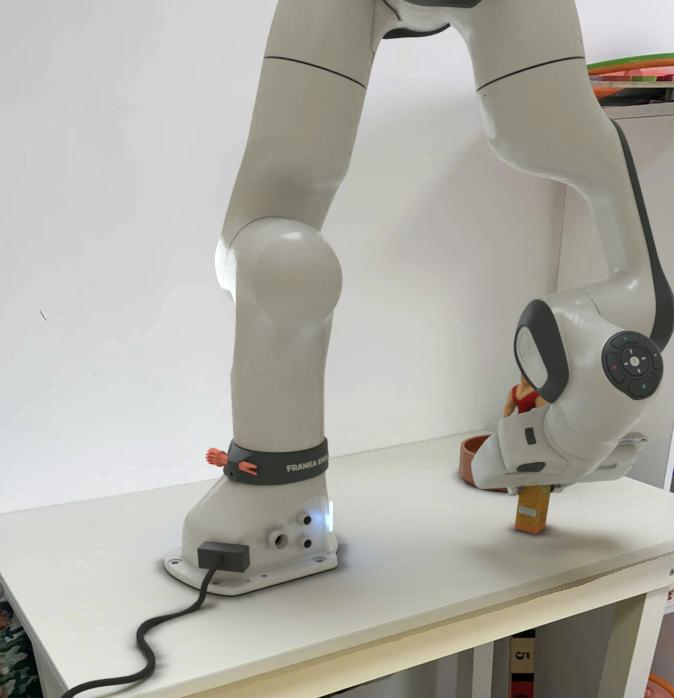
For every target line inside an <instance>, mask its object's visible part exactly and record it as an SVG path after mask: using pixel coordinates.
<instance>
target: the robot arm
mask: <svg viewBox="0 0 674 698" xmlns="http://www.w3.org/2000/svg"><path fill="white" fill-rule="evenodd" d="M270 23H271V24H270V28H269V31H268V36H267V40H266V44H265V47H264V48H265V49H264V53H263V58H262V63H261V68H260V69H261V70H260V74H259V77H258V78H259V79H258V83H257V88H256V94H255V98H254V99H255V100H254V105H253V110H252V114H251V120H250V125H249V131H248V135H247V139H246V140H247V141H246V144H245V147H244V152H243V156H242V159H241V162H240V165H239V168H238V171H237V175H236V178H235V181H234V185H233V187H232V190H231V194H230V198H229V202H228V205H227V209H226V212H225V217H224V220H223V224H222V228H221V231H220V236H219V240H218V243H217V246H216V250H215V257H214V267H215V274H216V277H217V281H218V283H219V285H220V288H221V289H222V291H223V293H224V295H226V296H227V298H228V299H229V300H230V301H231V302H232V303H233V304H234V312H235V313H234V314H235V316H234V318H235V320H234V321H235V324H234V343H233V356H232V364H231V365H232V366H231V369H230V373H229V381H230V400H231V417H232V436H233V437H232V439H231V440H230V443H229V445H228V449H227V452H226V451H224V450H220V449H218V448H217V447H210V448H209V449H207V452H206V453H205V459H206V460H205V461H206V462H207V463H208V464H209V465H211V466H215V467H217V468H222V475H221V476H220V477H219V478H218V480H217V481H216V482H215V483H214V484H213V485H212V486H211V487H210V489H209V490H208V491H207V492H206V493H205V494H204V495H203V496H202V497H201V498H200V499H199V501H198V502H197V503H196V504H195V505H194V506H193V507H192V508H191V509H190V510H189V511H188V512H187V514H186V515H185V517H184V519H183V523H182V532H181V546H180V547H178V548H176V549H174V550H172V551H170V552H168V553H165V555H164V560H163V565H164V568H165V570H167V572H168V573H169V574H170V575H171V576H173V577H174V578H176V579H177V580H179V581H180V582H183V583H185V584H187V585H188V586H191V587H193V588H196V589H199V595H198V598H197V600H196V601H195V602H193V604H192V605H190V606H189V607H188V608H186V609H184V610H181V611H178V612H175V613H169V614H165V615H159V616H153V617H151V618H148V619H146V620H144V621H143V622H142V623H141V624H140V625H139V627H138V628H137V630H136V633H135V636H136V637H135V638H136V641H137V643H138V646H139V647H140V648H141V650H142V651H143V652H144V654H145V656H146V658H147V664H146V665H145V667H144V668H143V669H141V670H140V671H138V672H136V673H133V674H129V675H124V676H117V677H107V678H99V679H95V680H89V681H86V682H82V683H79V684H77V685H75V686H73V687H71V688H69V689H68V690H67V691H65V692H64V693H63V694H62V695H61V696H60V697H59V698H74V697H75V696H76V695H79V694H81V693H83V692H85V691H89V690H92V689H97V688H104V687H111V686H120V685H127V684H131V683H135V682H138V681H141V680H143V679H145V678H146V677H147V676H149V675H150V674H151V673H152V671H153V670H154V668H155V665H156V655H155V652H154V651H153V650H152V648H151V647H150V645H149V644H148V642H147V641H146V639H145V637H144V633H145V632H146V630H147V629H148V628H150V627H152V626H154V625H157V624H161V623H165V622H168V621H171V620H174V619H177V618H180V617H183V616H186V615H189V614H192V613H195V612H196V611H198V609H200V608H201V607H202V606H203V604H204V603H205V601H206V597H207V592H208V593H211V594H216V595H224V596H237V595H241V594H244V593H249V592H252V591H257V590H260V589H263V588H267V587H271V586H275V585H277V584H281V583H285V582H289V581H292V580H295V579H296V580H297V579H300V578H302V577H306V576H310V575H313V574H314V575H315V574H318V573H320V572H324V571H327V570H332V569H334V568H336V567H337V566H338V565H339V564H338V563H339V562H338V557H337V551H338V550H339V542H338V540H337V536H336V533H335V529H334V525H333V501H329V493H328V486H327V485H328V484H327V474H326V473H327V470H328V469H329V458H330V452H329V440H328V438H327V436H325V376H326V365H327V359H328V352H329V347H330V346H329V345H330V341H331V337H332V336H331V335H332V329H333V321H334V315H335V308H336V307H337V305H338V302H339V301H340V297H341V294H342V289H343V270H342V266H341V263H340V260H339V257H338V256H337V254H336V252H335V250H334V249H333V247H332V245H331V244H330V243H329V241H328V240H327V239H326V238H325V236H324V235H323V234H322V233H321V231H322V229H323V226H324V223H325V221H326V218H327V216H328V213H329V211H330V209H331V206H332V204H333V201H334V198H335V196H336V194H337V192H338V190H339V188H340V187H341V184H342V183H343V182H344V180H345V178H346V176H347V174H348V171H349V169H350V164H351V160H352V157H353V151H354V147H355V143H356V140H357V135H358V130H359V126H360V123H361V122H360V121H361V117H362V113H363V109H364V105H365V100H366V97H367V96H366V95H367V91H368V87H369V82H370V78H371V75H372V68H373V64H374V61H375V58H376V55H377V51H378V48H379V46H380V43H381V41H382V40H397V39H409V38H426V37H427V38H428V37H432V36H435V35H437V34H440V33H443V32H445V31H446V30H447V29H449V28H451V27H453V28H454V29H455V31H457V32H458V33H459V34H460V36H461V38H462V39H463V41H464V43H465V45H466V47H467V51H468V54H469V57H470V59H471V60H470V61H471V65H472V73H473V81H474V87H475V88H474V89H475V92H476V94H475V95H476V100H477V108H478V112H479V119H480V124H481V128H482V132H483V135H484V137H485V140H486V143H487V144H488V147H489V149H490V150H491V151H492V152H493V154H494V155H495V156H496V157H497V158H498V159H499V160H500V161H502V162H503V163H504V164H506V165H507V166H508V167H510V168H512V169H513V170H516V171H518V172H520V173H523V174H527V175H529V176H532V177H538V178H544V179H548V180H552V181H556V182H558V183H562V184H564V185H566V186H569V187H570V188H571V189H574V190H575V191H576V192H578V193H579V194H580V195H581V196H582V197H583V199H584V200H585V202H586V203H587V205H588V208H589V210H590V213H591V217H592V221H593V224H594V227H595V230H596V234H597V238H598V242H599V245H600V249H601V252H602V253H601V254H602V256H603V261H604V263H605V268H606V275H605V278H604V279H603V280H600V281H597V282H592V283H590V284H586V285H583V286H578V287H575V288H569V289H566V290H563V291H562V290H561V291H559V292H555V293H551V294H548V295H544V296H542V297H539V298H535V299H532V300H530V301H529V303H528V304H527V305H526V306H525V308H524V309H523V310H522V312H521V314H520V316H519V319H518V321H517V324H516V329H515V333H514V339H513V355H514V359H515V362H516V365H517V367H518V369H519V371H520V374H521V373H522V375H523V377H524V378H525V379H526V381H527V382H528V383H529V385H530V386H531V387H532V388H533V389H534V390H535V391H536V392H537V393H538V394H539V395H540V396H541V397H542V398H543V399H544V400H545V401H546V402H548V404H547V405H545V406H542V407H540V408H538V409H537V408H534V409H532V410H531V411H529V412H525V413H521V414H518V413H516V414H513V415H510V416H508V417H505V418H504V417H502V418H501V419H500V420H499V421H498V423H497V431H496V432H495V433H492V434H493V435H491V436H490V437H489V438H488V439H487V440H486V441H485V442H484V443H483V444H482V446H481V447H480V448H479V450H478V451H477V453H476V454H475V456H474V458H473V460H472V463H471V469H472V475H473V480H474V483H475V485H476V486H475V487H476V488H478V489H480V490H489V489H491V488H506V487H507V490H508V491H507V494H508V496H509V497H512V496H513V497H514V496H519V495H521V493H522V492H523V491H524V489H523V486H536V485H551V484H552V486H551V493H550V494H555V493H556V494H558V493H562V492H563V491H564V490H565V489H566V488H569V487H572V486H573V485H576V484H578V483H579V484H580V483H595V482H608V481H609V482H611V481H612V482H613V481H617V480H620V479H622V478H624V477H626V475H627V474H628V473H630V470H631V469H632V468H633V467H634V465H635V463H636V461H637V460H638V456H639V455H638V453H639V452H640V451H642V450H643V449H644V448H645V447H646V446H647V445H648V443H649V437H648V436H647V435H645V434H643V433H642V432H640V431H632V430H633V429H634V428H635V427H636V425H638V423H639V422H640V421H641V420H642V418H643V417H644V416H645V415H646V414H647V412H648V411H649V410H650V408H651V407H652V405H653V403H654V402H655V400H656V399H657V397H658V394H659V392H660V389H661V387H662V383H663V379H664V373H665V364H664V363H665V362H664V358H663V356H662V353H663V351H664V350H665V349H666V347H667V346H668V344H669V343H670V340H671V338H672V336H673V334H674V292H673V290H672V288H671V285H670V283H669V280H668V279H667V276H666V275H665V272H664V270H663V267H662V264H661V261H660V258H659V254H658V251H657V246H656V242H655V239H654V235H653V231H652V227H651V223H650V218H649V216H648V210H647V207H646V204H645V200H644V196H643V191H642V187H641V183H640V180H639V176H638V173H637V169H636V165H635V161H634V157H633V154H632V151H631V148H630V145H629V142H628V140H627V137H626V135H625V133H624V131H623V129H622V127H621V126H620V124H619V123H618V122H617V121H616V120H614V119H613V118H610V117H608V115H607V114H606V112H605V111H604V110H603V107H602V106H601V104H600V102H599V100H598V98H597V96H596V94H595V91H594V89H593V86H592V83H591V80H590V76H589V72H588V65H587V60H586V52H585V45H584V38H583V33H582V27H581V23H580V17H579V13H578V9H577V4H576V1H575V0H277V4H276V6H275V10H274V14H273V17H272V19H271V22H270Z"/></svg>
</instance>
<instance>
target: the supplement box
mask: <svg viewBox="0 0 674 698" xmlns="http://www.w3.org/2000/svg"><path fill="white" fill-rule="evenodd" d="M551 486H552V484H551V485H536V486H523V489H524V491H523V492H522V493H521V495H518V498H517V499H518V500H517V504H516V505H517V506H516V512H515V513H516V514H515V521H514V529H515V530H518V531H521V532H525V533H529V534H533V535H536V534H538V533H539V532H541V531H542V530H543V529H545V528H546V525H547V519H548V513H549V512H548V511H549V505H550V499H551V494H552V493H551Z"/></svg>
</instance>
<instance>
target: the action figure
mask: <svg viewBox="0 0 674 698" xmlns="http://www.w3.org/2000/svg"><path fill="white" fill-rule="evenodd" d="M547 404H549V403H548V402H546V401H545V400H544V399H543V398H542V397H541V396H540V395H539V394H538V393H537V392H536V391H535V390H534V389H533V388H532V387H531V386H530V385H529V383H528V382H527V381H526V379H525V378H524V377H523V375H522V373H521V372H520V383H518V384H516V385H514V386H512V388H511V389H510V390H509V391H508V394H507V399H506V403H505V405H504V408H503V418H505V417H508V416H512V414H513V413H514V411H515V410H516V407H517V414H521V413H525V412H529V411H532V410H534V409H538V408H540V407H542V406H545V405H547Z"/></svg>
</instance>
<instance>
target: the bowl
mask: <svg viewBox="0 0 674 698" xmlns="http://www.w3.org/2000/svg"><path fill="white" fill-rule="evenodd" d="M493 434H494V433H486V434H479V435H474V436H471V437H467V438H465V439H464V440H463V441H461V442H460V448H459V462H458V463H459V465H458V475H459V476H460V477H461V478H462V479H463V480H464V481H465V482H467V483H468V484H470V485H472V486H473V487H474V486H475V487H477V486H476V485H475V483H474V480H473V475H472V469H471V463H472V460H473V458H474V456H475V454H476V453H477V451H478V450H479V448H480V447H481V446H482V444H483V443H484V442H485V441H486V440H487V439H488V438H489V437H490V436H491V435H493ZM488 490H490V491H497V492H508V490H507V487H506V488H491V489H488Z"/></svg>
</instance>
